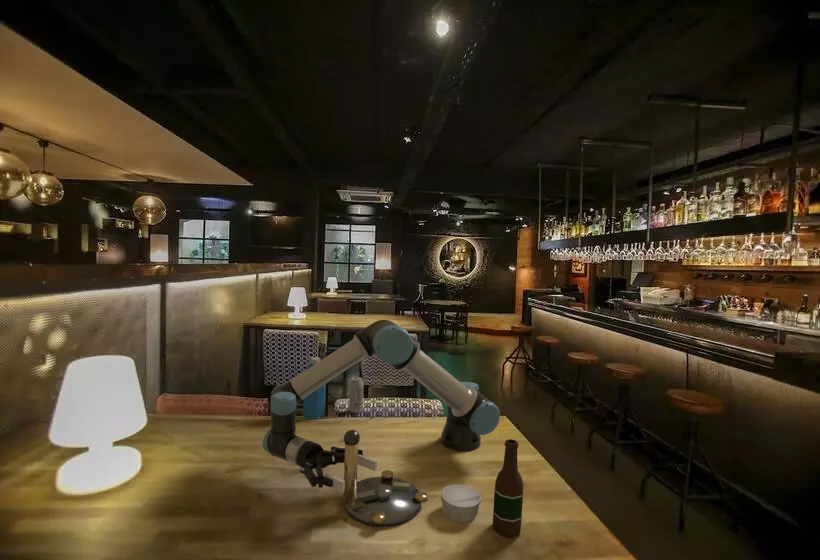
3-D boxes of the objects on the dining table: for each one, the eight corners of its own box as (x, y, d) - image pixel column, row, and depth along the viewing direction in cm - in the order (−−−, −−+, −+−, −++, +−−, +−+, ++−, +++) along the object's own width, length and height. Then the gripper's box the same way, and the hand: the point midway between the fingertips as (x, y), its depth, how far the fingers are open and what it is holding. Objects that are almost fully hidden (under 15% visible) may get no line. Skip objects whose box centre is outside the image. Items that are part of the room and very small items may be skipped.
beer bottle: (488, 520, 120) (493, 434, 118) (516, 519, 121) (521, 435, 119) (496, 539, 112) (501, 448, 111) (526, 538, 113) (531, 448, 111)
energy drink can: (356, 415, 192) (357, 381, 191) (346, 411, 195) (347, 378, 194) (365, 411, 197) (366, 378, 196) (355, 408, 200) (356, 375, 199)
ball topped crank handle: (387, 489, 129) (390, 420, 128) (394, 498, 125) (397, 427, 124) (339, 500, 123) (341, 428, 121) (344, 510, 118) (347, 435, 117)
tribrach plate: (427, 482, 138) (428, 472, 138) (426, 535, 113) (427, 523, 113) (352, 477, 140) (353, 468, 139) (334, 528, 114) (335, 516, 114)
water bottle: (329, 413, 193) (330, 357, 191) (317, 420, 184) (319, 362, 182) (310, 410, 196) (311, 354, 194) (298, 417, 187) (300, 359, 185)
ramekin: (469, 530, 115) (470, 511, 115) (432, 515, 121) (433, 497, 121) (486, 510, 125) (487, 492, 125) (451, 497, 131) (451, 480, 130)
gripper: (333, 450, 141) (387, 470, 129) (270, 483, 120) (327, 511, 108) (334, 427, 140) (388, 446, 129) (271, 457, 119) (328, 481, 108)
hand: (360, 475), depth 119 cm, fingers open, 13 cm apart
